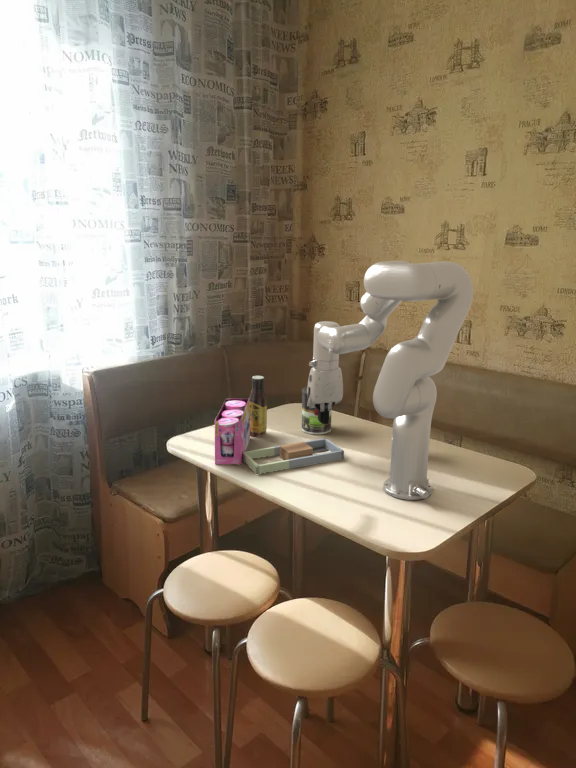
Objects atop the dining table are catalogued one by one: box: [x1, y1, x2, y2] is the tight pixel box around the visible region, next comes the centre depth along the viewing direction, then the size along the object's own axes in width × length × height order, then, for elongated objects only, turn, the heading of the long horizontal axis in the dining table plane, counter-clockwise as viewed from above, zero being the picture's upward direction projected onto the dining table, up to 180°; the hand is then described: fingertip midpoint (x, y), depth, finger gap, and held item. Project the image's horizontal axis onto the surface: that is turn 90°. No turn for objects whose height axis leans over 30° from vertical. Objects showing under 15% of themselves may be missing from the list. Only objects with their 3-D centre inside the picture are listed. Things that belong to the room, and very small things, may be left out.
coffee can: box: [301, 386, 333, 435], centre depth 197 cm, size 10×10×14 cm
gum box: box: [214, 397, 251, 465], centre depth 178 cm, size 24×8×14 cm, turn 177°
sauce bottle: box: [248, 375, 268, 438], centre depth 191 cm, size 7×6×20 cm
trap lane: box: [242, 437, 345, 475], centre depth 173 cm, size 12×28×2 cm, turn 114°
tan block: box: [279, 441, 314, 461], centre depth 174 cm, size 6×8×4 cm
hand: (323, 422), depth 176 cm, fingers closed
